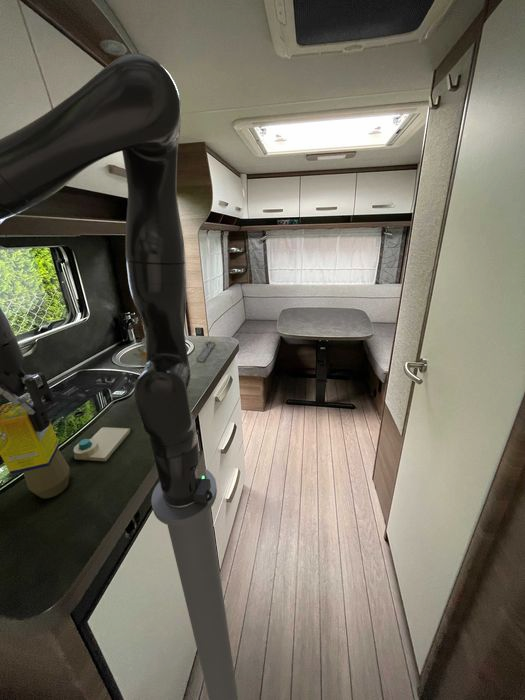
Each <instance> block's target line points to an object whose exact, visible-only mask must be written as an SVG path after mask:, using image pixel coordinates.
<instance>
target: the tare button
mask: <svg viewBox="0 0 525 700" xmlns="http://www.w3.org/2000/svg"><path fill="white" fill-rule="evenodd" d="M89 439H90V438H84V439H81V440H80V441H79V442H78V443H79V447H80V449H81V450H85V449H88V448H90V447H91V442H90V440H89Z"/></svg>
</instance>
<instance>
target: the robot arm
mask: <svg viewBox="0 0 525 700" xmlns="http://www.w3.org/2000/svg"><path fill="white" fill-rule="evenodd" d="M181 124H182V106H181V98H180V94H179V91H178V88H177V85H176V83H175V81H174V79H173V77H172V76H171V74H170V73H169V72H168V70H167V69H166V68H165V67H164V66H163V65H162V64H161V63H160V62H158V61H157V60H156V59H154V58H153V57H151V56H148V55H145V54H142V53H136V52H132V53H126V54H123V55H121V56H118V57H117V58H116V59H114V60H113V61H112V62H110V63H109V64H108V65H106V66H105V67H104V68H102V69H101V70H100V71H99V72H97V74H95V75H94V76H93V77H92V78H91V79H89V80H88V81H87V82H86V83H85V84H83V86H81V87H80V88H79V89H77V91H75V92H74V93H72V94H71V95H70V96H69V97H67V98H65V99H64V100H63V101H62V102H59V104H57V105H56V106H54V107H53V108H52V109H50V110H49V111H47V112H46V113H45V114H43V115H41V116H40V117H38V118H36V119H34V120H33V121H31V122H30V123H28V124H26V125H25V126H23V127H21V128H19V129H17V130H16V131H14V132H12V133H10V134H8V135H6V136H4V137H2V138H0V225H2V223H3V222H4V221H6V220H7V219H9V218H12V217H14V216H16V215H18V214H20V213H23V212H24V211H27V210H28V209H30V208H32V207H34V206H35V205H38V204H39V203H42V202H43V201H45V200H47V199H49V198H50V197H52V196H53V195H55V194H56V193H57V192H59V191H60V190H62V189H63V188H64V187H65V186H67V185H68V184H69V183H70V182H71V181H72V180H74V179H75V178H76V177H77V176H78V175H79V174H80V173H82V172H83V171H84V170H86V169H88V168H89V167H90V166H92V165H93V164H95V163H97V162H99V161H101V160H102V159H105V158H107V157H109V156H112V155H114V154H116V153H122V158H123V165H124V169H125V175H126V176H125V177H126V183H127V185H126V186H127V207H126V220H125V221H126V222H125V239H124V241H125V244H124V248H125V261H126V271H127V280H128V286H129V291H130V295H131V298H132V301H133V304H134V306H135V309H136V311H137V313H138V315H139V317H140V320H141V323H142V325H143V328H144V333H145V339H146V346H145V347H146V365H145V366H144V368H143V369H142V371H141V372H140V374H139V376H138V377H137V379H136V381H135V383H134V390H133V393H134V399H135V404H136V407H137V411H138V414H139V417H140V421H141V425H142V428H143V430H144V431H145V432H146V433H147V435H148V437H149V440H150V445H151V449H152V453H153V457H154V460H155V461H154V463H155V466H156V470H157V475H158V480H159V481H158V483H160V484H161V485H160V487H161V489H162V492H163V498H164V501H165V503H166V504H167V505H168V506H169V507H171V508H175V509H182V508H186V507H189V506H191V505H193V504H199V503H206V502H208V501H210V500H211V499H212V497H213V495H212V493H211V491H210V488H211V484H210V479H207V476H206V470H207V469H206V463H205V456H204V451H203V450H200V446H199V440H198V434H197V427H196V426H197V425H196V418H195V416H194V414H193V412H191V408H190V402H189V397H188V392H189V391H188V390H189V386H190V383H191V367H190V362H189V355H188V349H187V341H186V333H185V331H186V330H185V329H186V328H185V327H186V326H185V325H186V311H187V267H186V266H187V264H186V251H185V241H184V240H185V239H184V235H183V233H184V232H183V227H182V221H181V216H180V210H179V205H178V194H177V174H178V173H177V171H178V152H179V143H180V142H179V141H180V134H181V126H182V125H181ZM24 360H25V358H24V354H23V351H22V349H21V347H20V345H19V342H18V340H17V337H16V335H15V333H14V330H13V327H12V325H11V322H10V321H9V318H8V317H7V315H6V313H5V312H4V310H3V308H2V306H1V305H0V401H1V400H4V401H8V402H9V403H13V404H14V405H15V406H21V407H22V408H23V409H24V410H25V411H27V412H28V413H29V415H28V416H29V418H30V420H31V422H32V425H33V427H34V429H35V431H36V432H42V431H43V430H44V429H46V428H47V427H48V426H49V424H50V422H51V420H50V417H49V415H48V413H47V410H46V409H47V408H49V407H51V406H52V405H53V404H55V403H56V402H55V401H56V400H55V398H54V395H53V393H52V390H51V388H50V385H49V383H48V380H47V378H46V375H45V374H44V373H43V372H40V371H39V372H37V373H35V374H27V373H26V372H25V371H24V370H23V368H22V364H23V362H24ZM24 392H26V394H25V395H23V394H24ZM22 395H23V396H22ZM42 397H43V398H42ZM27 400H32V401H33V403H34V405H33V406H32V405H31V404H29V403H28V402H27ZM1 406H2V404H1V405H0V407H1ZM208 495H209V497H208ZM207 497H208V498H207Z"/></svg>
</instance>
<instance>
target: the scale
mask: <svg viewBox="0 0 525 700" xmlns="http://www.w3.org/2000/svg"><path fill="white" fill-rule="evenodd" d="M130 433H131V428H125V427H109V426H107V427H105V426H102V427H101V428H100V429H98V431H97V432H96V433H95V434H94V435H92V437H91V438H88V439H89V440H90V442H91V447H90V448H88V449H85V450H81V449H80V447H79V442H78V443H77V444H76V445H75V446H74V447H73V454H74V455H73V458H74V460H81V461H94V462H96V461H97V462H107V461H108V459H109V458H111V456H112V454H113V453H114V452H115V451H116V450H117V449H118V447H120V445H121V444H122V443H123V441H124V440H125V439H126V438H127V437H128V435H129V434H130Z"/></svg>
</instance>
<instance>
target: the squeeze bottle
mask: <svg viewBox="0 0 525 700" xmlns="http://www.w3.org/2000/svg"><path fill="white" fill-rule="evenodd" d="M22 473H23V477H24V480H25V483H26V487H27V489H28V490H29V491H30V492H32V493H33V494H35V495H36V496H38V497H39V498H41V499H50V498H53V497H55V496H58V495H60V494H61V493H62V492H64V491H65V490H66V488H67V487H68V485H69V481H70V466H69V464H68V462H67V461H66V459H65V457H64V456H63V454H62V452H61V450H60V449H59V448H58V449H57V451H56V453H55V456H54V457H53V459H52V462H51V464H50V465H49V466H47V467H43V468H39V469H34V470H30V471H26V472H22Z"/></svg>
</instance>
